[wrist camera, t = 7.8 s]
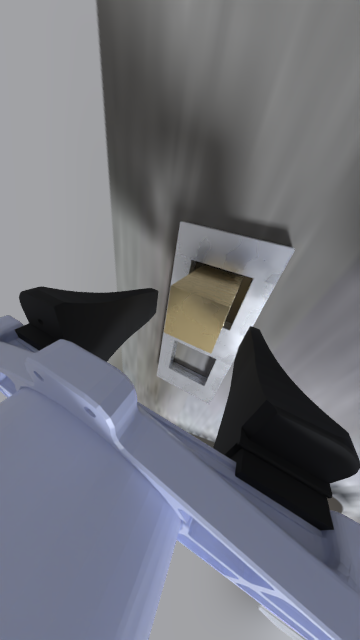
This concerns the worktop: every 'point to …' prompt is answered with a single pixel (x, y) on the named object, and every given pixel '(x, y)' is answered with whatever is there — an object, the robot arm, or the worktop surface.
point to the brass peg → (201, 306)
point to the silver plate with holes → (265, 269)
